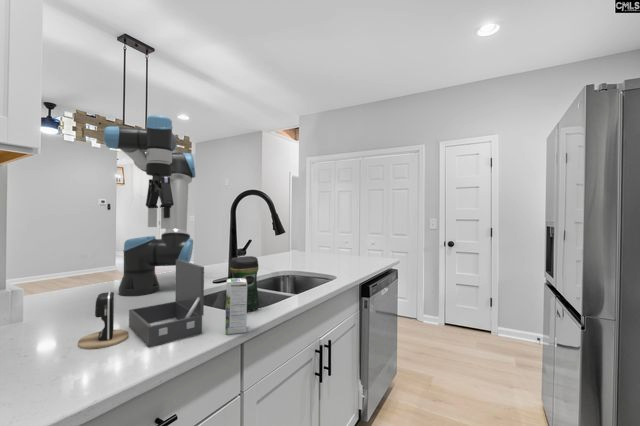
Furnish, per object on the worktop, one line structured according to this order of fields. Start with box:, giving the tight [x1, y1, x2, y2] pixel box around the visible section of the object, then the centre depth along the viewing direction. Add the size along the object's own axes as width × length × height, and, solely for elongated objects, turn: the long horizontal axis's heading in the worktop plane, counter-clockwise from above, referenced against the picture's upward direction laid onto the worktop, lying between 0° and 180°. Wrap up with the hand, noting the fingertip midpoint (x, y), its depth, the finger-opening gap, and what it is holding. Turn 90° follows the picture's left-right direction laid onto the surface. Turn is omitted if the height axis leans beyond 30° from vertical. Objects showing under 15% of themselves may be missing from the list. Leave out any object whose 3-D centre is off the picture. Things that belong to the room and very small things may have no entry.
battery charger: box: [94, 291, 115, 340], centre depth 83 cm, size 7×4×11 cm, turn 31°
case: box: [128, 259, 205, 348], centre depth 91 cm, size 20×14×19 cm
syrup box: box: [224, 278, 248, 336], centre depth 91 cm, size 6×6×14 cm
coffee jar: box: [229, 255, 260, 312], centre depth 111 cm, size 10×8×19 cm
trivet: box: [77, 329, 130, 350], centre depth 83 cm, size 11×11×1 cm
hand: (158, 227), depth 105 cm, fingers open, 13 cm apart
